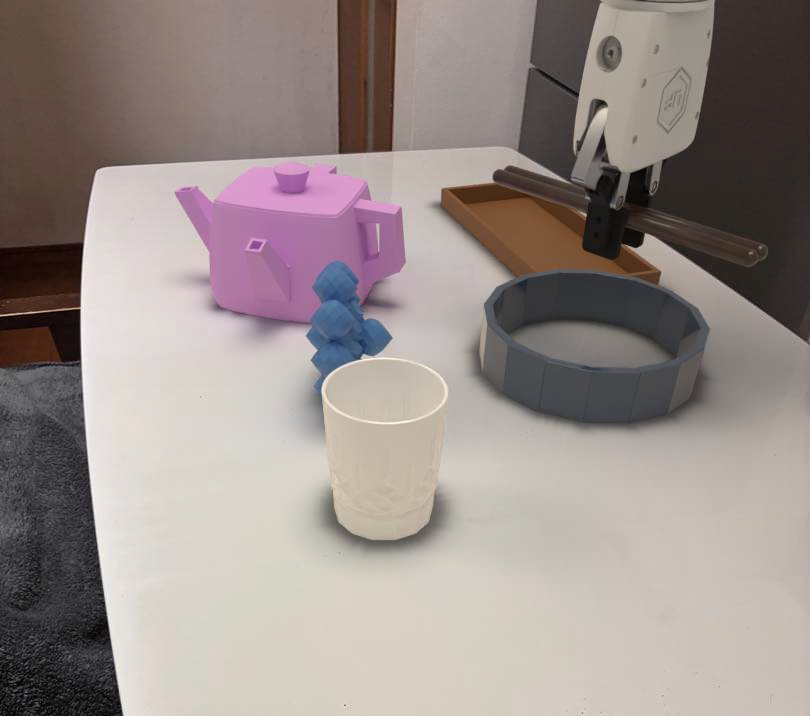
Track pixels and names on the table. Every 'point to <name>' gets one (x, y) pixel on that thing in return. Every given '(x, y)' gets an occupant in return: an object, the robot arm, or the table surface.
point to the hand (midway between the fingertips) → (612, 246)
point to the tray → (534, 232)
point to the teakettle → (292, 237)
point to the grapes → (341, 323)
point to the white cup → (384, 444)
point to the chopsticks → (638, 218)
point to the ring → (579, 384)
